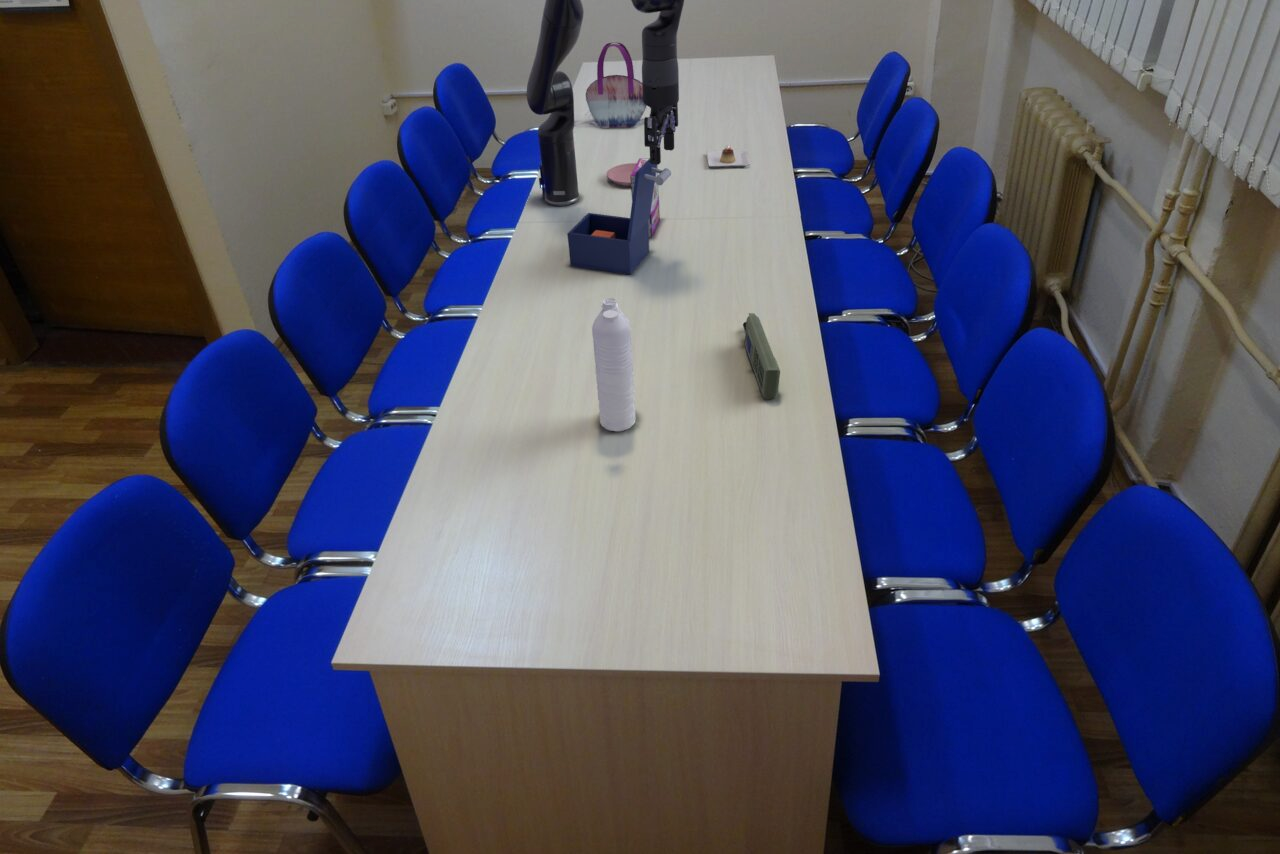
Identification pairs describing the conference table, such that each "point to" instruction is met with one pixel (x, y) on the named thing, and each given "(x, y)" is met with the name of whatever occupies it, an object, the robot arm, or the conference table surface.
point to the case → (607, 244)
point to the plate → (621, 174)
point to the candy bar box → (655, 200)
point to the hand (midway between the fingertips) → (662, 156)
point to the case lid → (644, 195)
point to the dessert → (728, 158)
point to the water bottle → (614, 367)
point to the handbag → (615, 95)
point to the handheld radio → (761, 357)
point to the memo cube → (603, 234)
